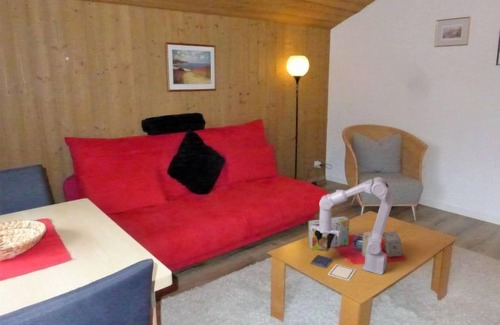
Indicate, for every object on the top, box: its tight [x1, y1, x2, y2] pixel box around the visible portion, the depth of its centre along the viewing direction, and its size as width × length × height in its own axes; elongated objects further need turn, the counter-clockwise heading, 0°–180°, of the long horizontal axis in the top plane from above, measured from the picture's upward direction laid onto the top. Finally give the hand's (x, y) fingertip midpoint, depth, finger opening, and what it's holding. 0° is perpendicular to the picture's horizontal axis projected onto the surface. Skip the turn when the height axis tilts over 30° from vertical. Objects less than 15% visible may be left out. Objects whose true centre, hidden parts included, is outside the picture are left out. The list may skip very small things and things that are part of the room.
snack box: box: [308, 216, 350, 251], centre depth 198 cm, size 21×6×15 cm, turn 104°
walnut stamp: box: [318, 237, 331, 252], centre depth 181 cm, size 4×5×5 cm
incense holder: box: [382, 230, 403, 258], centre depth 189 cm, size 10×8×10 cm
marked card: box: [327, 263, 357, 282], centre depth 173 cm, size 10×11×1 cm
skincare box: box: [361, 230, 372, 257], centre depth 187 cm, size 6×4×12 cm
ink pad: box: [309, 254, 333, 269], centre depth 183 cm, size 8×9×1 cm
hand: (324, 246), depth 181 cm, fingers closed on walnut stamp, 4 cm apart
